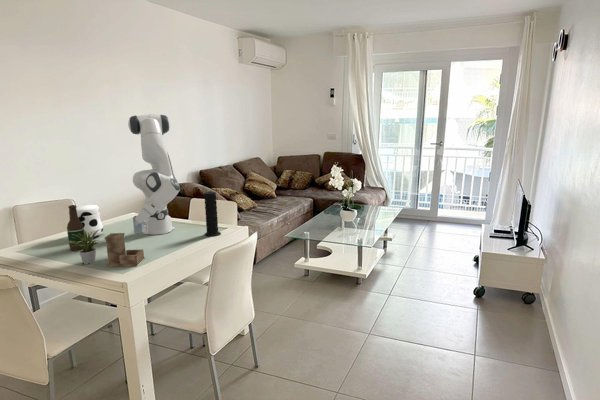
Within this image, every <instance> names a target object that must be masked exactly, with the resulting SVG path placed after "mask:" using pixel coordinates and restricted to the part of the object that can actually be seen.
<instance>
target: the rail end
mask: <svg viewBox="0 0 600 400" xmlns="http://www.w3.org/2000/svg"><path fill="white" fill-rule="evenodd" d="M136 216H137V215H135V216H133V217H132V222H133V233H136V234H137V233H143V231H144V230H145V225H144V222H145V221H144V222H142V223H141V224H138V225H137V226H136V225H135V224H134V223H135V222H136V221H135V218H136Z"/></svg>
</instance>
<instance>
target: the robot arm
mask: <svg viewBox="0 0 600 400" xmlns="http://www.w3.org/2000/svg"><path fill="white" fill-rule="evenodd" d="M127 126H128V129H129V131H130V132H131V133H132V134H133V135H138V136H139V135H140V148H141V149H140V150H141V156H142V157H141V158H142V160H143V161H144V162H146V163H147V164H150V166H151V169H143V170H140V171H137V172H134V173H133V175H132V183H133V185H134V187H136V189H139V190H140V191H141V192H142V193H143V195H144V197H145V199H146V201H145V204H144V205H143V206H142V207H143V208H142V209H141V210H140V211H139V212H138V214H137V215H135V216H136V218H135V221H136V222H135V223H134V224H135V225H136V226H137V225H138V224H141V223H142V222H144V226H145V230H144V231H143V232H142V233H143V235H155V236H156V235H164V234H167V233H170V232H171V231H174V230H175V226H173V224H172V223H173V222H172V218H171V216H170V215H169V210H168V209H169V208H167V207H168V204H169V203H171V202H172V200H174V199H175V197H176V196H177V195H178V194H179V192H180V191H181V185H180V183H179V182H178V180H177V179H176V174H175V172H174V170H173V166H172V163H171V162H172V161H171V157H170V156H169V152H168V151H167V149H166V146H165V142H164V135H165V134H167V133H168V132H169V131H170V129H171V121H170V120H169V117H168V116H167V115H164V114H150V113H148V114H143V115H142V114H141V115H132V116H130V117H129V120H128V122H127ZM134 224H133V225H134Z"/></svg>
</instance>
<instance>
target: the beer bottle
mask: <svg viewBox="0 0 600 400" xmlns="http://www.w3.org/2000/svg"><path fill="white" fill-rule="evenodd" d="M76 206H77V205H75V204H71V205H68V214H70V215H69V216H70V217H69V221H68V222H67V225H66V231H67V238H68V240H67V241H68V246H69V250H70V251H71V252H72V251H73V252H76V251H78V252H79V251H80V250H82V248H81V247H79V246H73V245H76V244H74V243H72V242H69V241H75V242H79V243H81V244H83V243H82V242H83V241H81V240H80V239H79V238H78V237H77V236H76V235H78V236H80V237H81V238H83V237H84V227H83V224H82V222H81V221H80V220H79V219H78V215H77V210H76ZM78 233H79V234H78ZM72 234H75V235H72ZM80 234H81V235H82V236H83V237H82V236H81V235H80ZM73 237H74V238H73ZM83 245H84V244H83ZM72 246H73V247H72Z"/></svg>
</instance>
